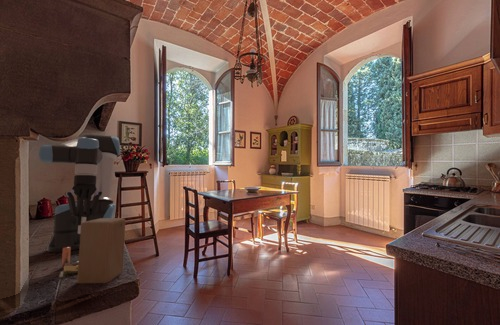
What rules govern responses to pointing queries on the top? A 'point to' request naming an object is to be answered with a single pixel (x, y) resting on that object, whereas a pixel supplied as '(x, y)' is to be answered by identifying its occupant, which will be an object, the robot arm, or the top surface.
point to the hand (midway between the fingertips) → (81, 233)
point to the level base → (66, 274)
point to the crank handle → (68, 262)
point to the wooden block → (101, 250)
